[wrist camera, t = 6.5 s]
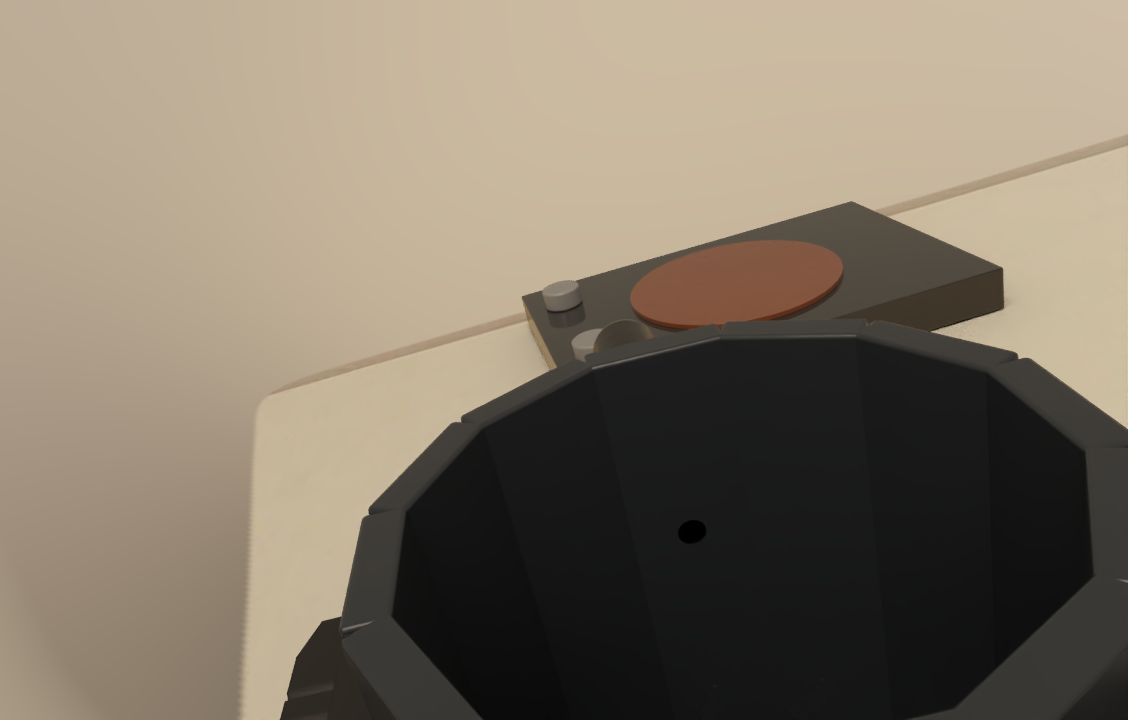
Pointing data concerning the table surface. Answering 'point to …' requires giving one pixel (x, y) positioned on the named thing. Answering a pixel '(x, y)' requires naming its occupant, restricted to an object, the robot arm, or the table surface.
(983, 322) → the table surface
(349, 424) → the table surface
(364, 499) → the table surface
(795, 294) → the stove
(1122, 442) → the pot
